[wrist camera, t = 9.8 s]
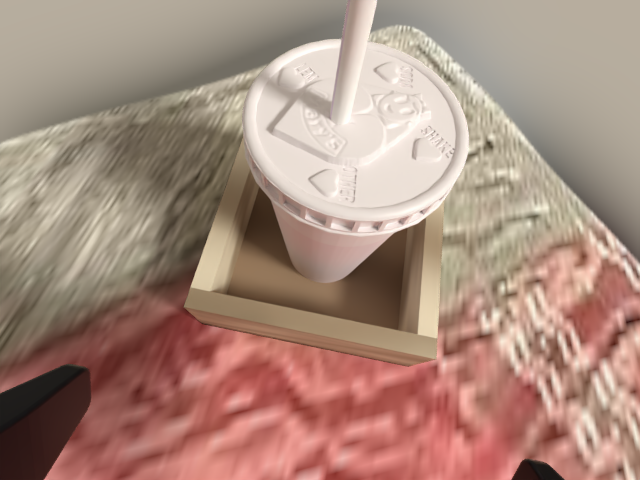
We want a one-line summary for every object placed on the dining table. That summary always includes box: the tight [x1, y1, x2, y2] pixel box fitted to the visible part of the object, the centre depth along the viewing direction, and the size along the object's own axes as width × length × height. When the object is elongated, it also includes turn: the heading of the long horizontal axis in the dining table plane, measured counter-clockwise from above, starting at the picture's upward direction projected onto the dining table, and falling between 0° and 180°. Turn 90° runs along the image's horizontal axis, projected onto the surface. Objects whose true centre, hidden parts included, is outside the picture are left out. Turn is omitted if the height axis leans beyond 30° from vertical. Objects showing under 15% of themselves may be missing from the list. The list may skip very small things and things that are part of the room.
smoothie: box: [242, 0, 469, 283], centre depth 12 cm, size 6×6×14 cm
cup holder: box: [184, 136, 444, 366], centre depth 18 cm, size 10×10×4 cm
